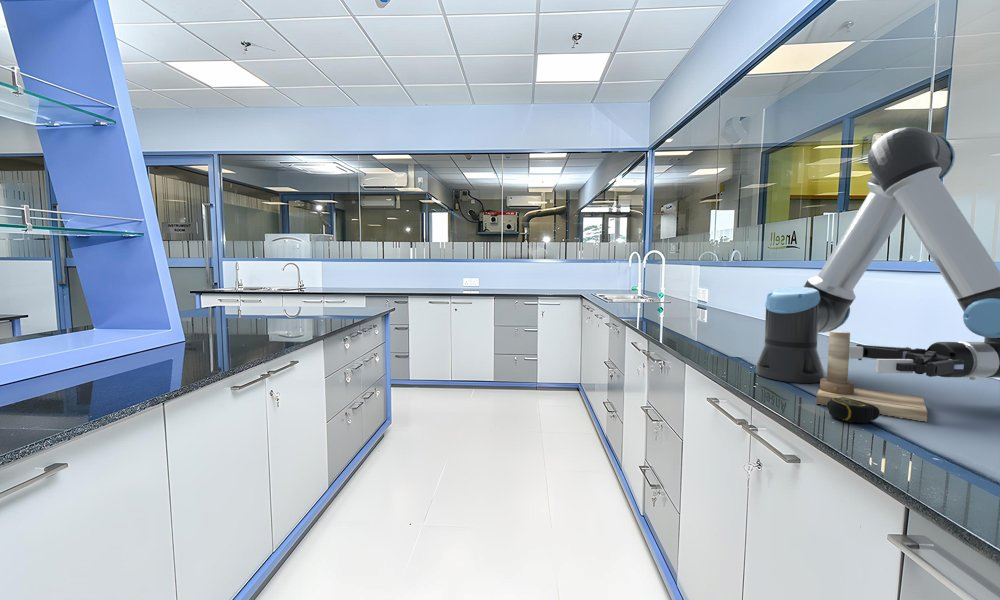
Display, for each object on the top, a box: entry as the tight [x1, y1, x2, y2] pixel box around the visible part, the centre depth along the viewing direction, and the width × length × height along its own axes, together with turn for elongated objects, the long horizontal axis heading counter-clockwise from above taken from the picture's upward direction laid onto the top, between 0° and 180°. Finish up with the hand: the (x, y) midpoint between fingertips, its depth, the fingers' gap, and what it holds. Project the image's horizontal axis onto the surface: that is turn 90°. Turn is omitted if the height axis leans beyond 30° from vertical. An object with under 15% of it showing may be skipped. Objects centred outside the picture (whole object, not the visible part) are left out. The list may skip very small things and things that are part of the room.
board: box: [815, 387, 928, 423], centre depth 93 cm, size 12×17×2 cm
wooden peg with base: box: [819, 330, 855, 394], centre depth 96 cm, size 7×6×13 cm
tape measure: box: [826, 397, 880, 424], centre depth 85 cm, size 7×7×4 cm
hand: (852, 358), depth 95 cm, fingers open, 13 cm apart
